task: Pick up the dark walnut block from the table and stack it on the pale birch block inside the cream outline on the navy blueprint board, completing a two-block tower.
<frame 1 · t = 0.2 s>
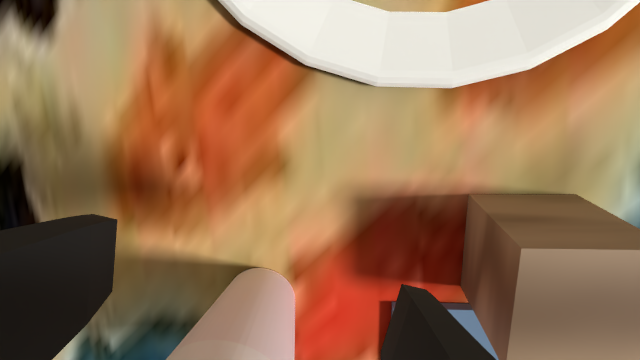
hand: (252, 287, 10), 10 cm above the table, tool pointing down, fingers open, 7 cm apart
walnut block: (515, 241, 19), on the table
smoothie: (262, 296, 21), on the table
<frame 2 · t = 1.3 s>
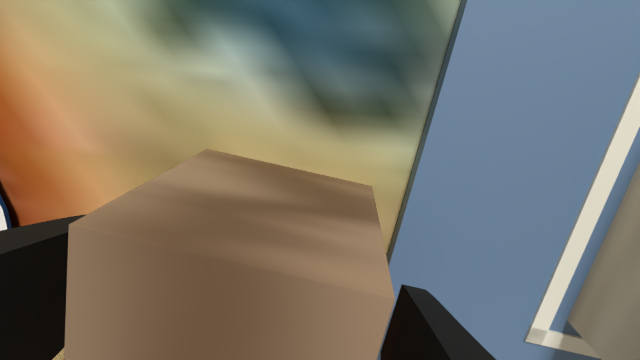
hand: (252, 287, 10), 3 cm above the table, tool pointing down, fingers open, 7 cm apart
walnut block: (274, 242, 12), on the table
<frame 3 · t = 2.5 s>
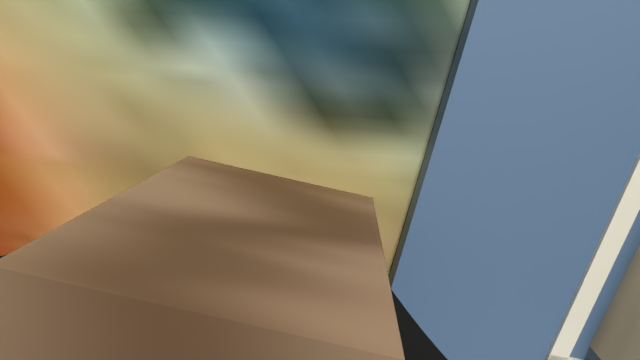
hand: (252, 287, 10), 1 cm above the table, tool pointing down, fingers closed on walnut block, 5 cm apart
walnut block: (264, 260, 11), on the table, touching gripper
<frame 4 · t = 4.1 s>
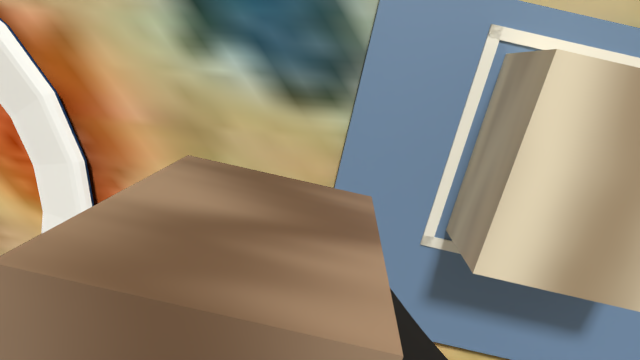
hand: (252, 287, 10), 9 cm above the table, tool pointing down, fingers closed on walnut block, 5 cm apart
birch block: (563, 168, 17), point 1 cm above the table, touching blueprint board
walnut block: (263, 258, 11), point 8 cm above the table, touching gripper
blueprint board: (518, 200, 18), on the table
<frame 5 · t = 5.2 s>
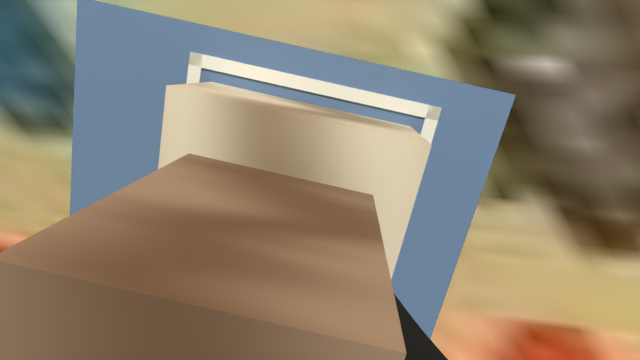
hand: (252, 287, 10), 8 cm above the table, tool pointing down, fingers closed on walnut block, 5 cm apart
birch block: (291, 198, 16), point 1 cm above the table, touching blueprint board
walnut block: (264, 257, 11), point 6 cm above the table, touching gripper
blueprint board: (263, 230, 18), on the table
when the fingers open (7 cm above the table, at t = 6.1 s): walnut block drops 1 cm, resting on birch block.
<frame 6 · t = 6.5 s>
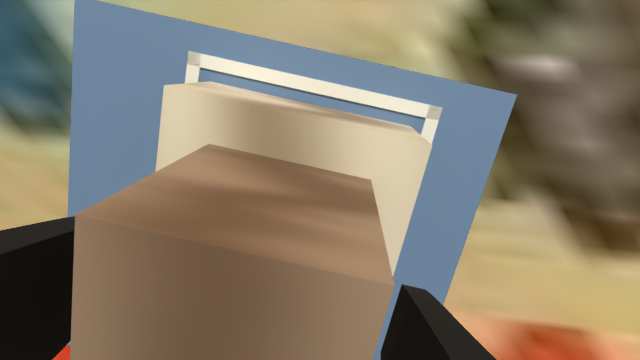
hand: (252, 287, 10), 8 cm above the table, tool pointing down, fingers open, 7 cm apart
birch block: (290, 198, 16), point 1 cm above the table, touching blueprint board, walnut block
walnut block: (275, 236, 12), point 5 cm above the table, touching birch block
blueprint board: (262, 230, 17), on the table
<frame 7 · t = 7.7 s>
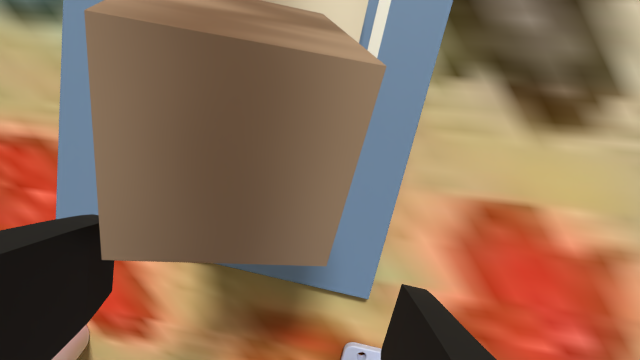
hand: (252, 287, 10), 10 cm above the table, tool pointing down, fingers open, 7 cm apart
birch block: (261, 75, 18), point 1 cm above the table, touching blueprint board, walnut block
walnut block: (233, 78, 13), point 6 cm above the table, tilted 23°, touching birch block, gripper
smoothie: (61, 327, 23), on the table
blueprint board: (237, 112, 19), on the table
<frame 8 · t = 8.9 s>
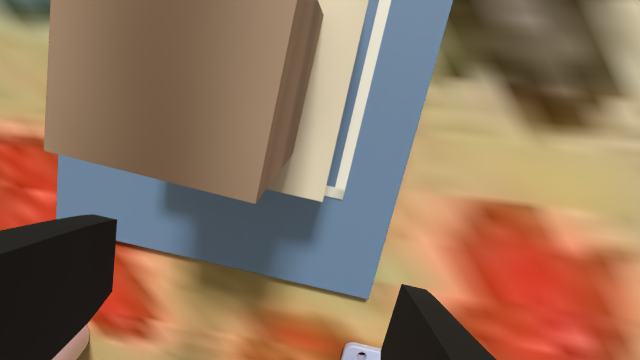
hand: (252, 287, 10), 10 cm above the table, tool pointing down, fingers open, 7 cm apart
birch block: (261, 75, 18), point 1 cm above the table, touching blueprint board, walnut block
walnut block: (240, 70, 14), point 5 cm above the table, touching birch block
smoothie: (61, 327, 23), on the table
blueprint board: (237, 112, 19), on the table
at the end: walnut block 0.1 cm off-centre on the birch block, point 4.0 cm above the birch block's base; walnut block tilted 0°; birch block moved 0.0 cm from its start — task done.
